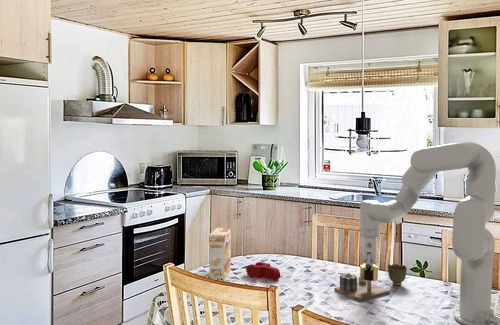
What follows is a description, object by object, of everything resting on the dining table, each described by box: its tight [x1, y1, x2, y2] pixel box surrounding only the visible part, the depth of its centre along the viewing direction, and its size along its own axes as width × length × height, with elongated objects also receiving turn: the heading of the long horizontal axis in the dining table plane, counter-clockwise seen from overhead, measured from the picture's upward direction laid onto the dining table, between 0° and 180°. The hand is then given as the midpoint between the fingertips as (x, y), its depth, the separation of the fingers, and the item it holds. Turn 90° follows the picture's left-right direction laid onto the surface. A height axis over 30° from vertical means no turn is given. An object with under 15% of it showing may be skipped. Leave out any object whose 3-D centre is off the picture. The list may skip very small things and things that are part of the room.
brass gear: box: [359, 263, 379, 282], centre depth 185 cm, size 7×7×5 cm
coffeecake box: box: [208, 227, 232, 281], centre depth 209 cm, size 15×7×20 cm, turn 171°
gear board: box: [333, 272, 391, 303], centre depth 186 cm, size 14×16×7 cm
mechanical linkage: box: [245, 261, 281, 282], centre depth 206 cm, size 16×7×5 cm, turn 45°
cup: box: [387, 263, 408, 287], centre depth 194 cm, size 8×7×8 cm
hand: (368, 276), depth 185 cm, fingers closed on brass gear, 6 cm apart
